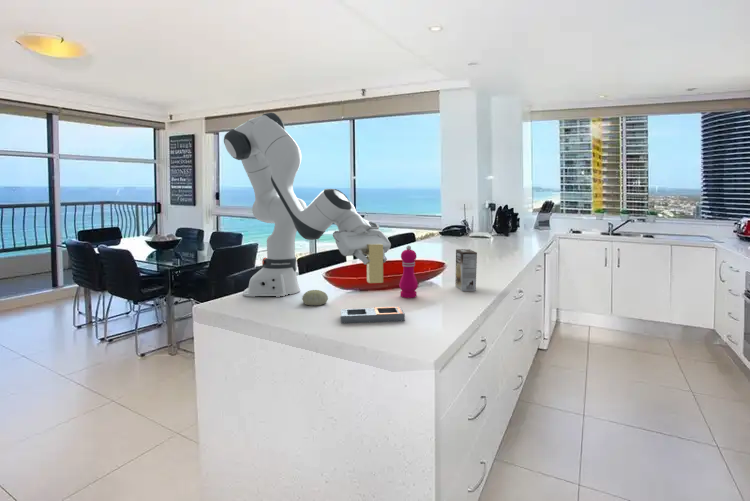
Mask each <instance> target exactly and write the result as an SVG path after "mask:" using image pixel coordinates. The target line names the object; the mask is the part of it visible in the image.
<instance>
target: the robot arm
mask: <svg viewBox="0 0 750 501" xmlns="http://www.w3.org/2000/svg"><path fill="white" fill-rule="evenodd" d="M223 143H224V146H225V149H226V151H227V153H228V154H229V155H230V156H231V158H233V159H235V160H237V161H241V163H242V166H243V168H244V170H245V174H246V176H247V177H248V179H249V182H250V184H251V186H252V189H253V192H254V199H255V200H254V202H253V205H252V207H251V208H252V209H251V211H252V214H253V217H254V218H255V219H256V220H257V221H261V222H263V223H265V224H274V228H273V231H272V233H271V234H269V235H268V237H267V238H266V254H267V257H264V258H263V259H261V260H262V264H261V265H262V268H261V269H259V270H258V271H257V272H256V273H254V274H253V275H252V277H250V279H249V283H248V287H247V288H246V289H244V290H243V293H242V294H243V296H244V297H255V296H276V297H275V298H281V297H280V296H283V297H285V295H286V296H289V295H288V294H290V295H294V294H297V293H299V292H301V289H300V286H299V281H298V277H297V269H298V268H297V267H298V266H297V265H298V264H297V257H296V246H295V245H296V243H295V242H296V236H297V233H298V234H299V235H300V236H301V237H302V238H303V239H305V240H309V241H310V240H311V241H315V240H319V239H320V238H321V237H322V236H323V235H324V234H325V233H326V231H327V230H328V229H329V228H330V227H331V226H332V225H333V224H334V225H335V226H336V227H337V230H335V231H333V233H332V237H333V239H334V240H335V244H336V247H337V249H338V251H339V252H340V254H341V255H342V256H344V257H350V256H351V257H352V256H355V258H357V260H358V259H359V261H361V262H362V263H363V265H367V264H369V262H370V259H369V258H368V257H367V249H368V247H367V244H383V263H386V261H387V260H388V258H387V257H386V256H385V255H386V253H387V252H388V251H389V250H390V249H391V246H392V244H391V242H390V240H389V239H388V237H387V236H386V235H385V233H384V232H383V231H382V230H380V225H379V224H378V223H376V222H372V221H369V220H367V219H364V218H363V217H362V215H360V214H359V213H358V212H357V210H356V207H355V206H354V204H353V203H352V202H351V201H350V200H349V198H348V197H347V195H346V194H344V193H343V192H342V191H341V190H339V189H338V188H337V189H336V188H325V189H323V190H322V191H321V192H320V193H319V194H318V195H317V196H315V198H314V199H313V200H312V201H311V203H309V204H308V205H307V204H306V202H305V200H303V199H302V198H298V197H297V195H296V193H295V192H294V182H295V178H296V175H297V173H298V171H299V169H300V166H301V164H302V163H301V162H302V151H301V148H300V146H299V145H298V144H297V142H296V141H295V140H294V138H293V137H292V136H291V135H290V134H289V132H288V131H286V127H285V123H284V122H283V120H282V119H281V117H280V116H279V115H277V114H276V113H274V112H267V113H263V114H261V115H260V116H257V117H253V118H250V119H248V120H247V121H246V122H244V123H242V124H240V125H238V126H237V127H235V128H234V129H230V130H229V131H228V132H226V133H225V134H224V138H223Z"/></svg>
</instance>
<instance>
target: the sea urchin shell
mask: <svg viewBox="0 0 750 501" xmlns="http://www.w3.org/2000/svg"><path fill="white" fill-rule="evenodd" d="M301 299H302V302H303V304H304V305H306V306H313V305H314V306H323V305H324V304H326V303H327V302H328V301H329V300H328V299H329V296H328V294H327V293H326V292H324V291H322V290H319V289H312V290H308V291H306V292H304V294H303V295H302V298H301Z"/></svg>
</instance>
